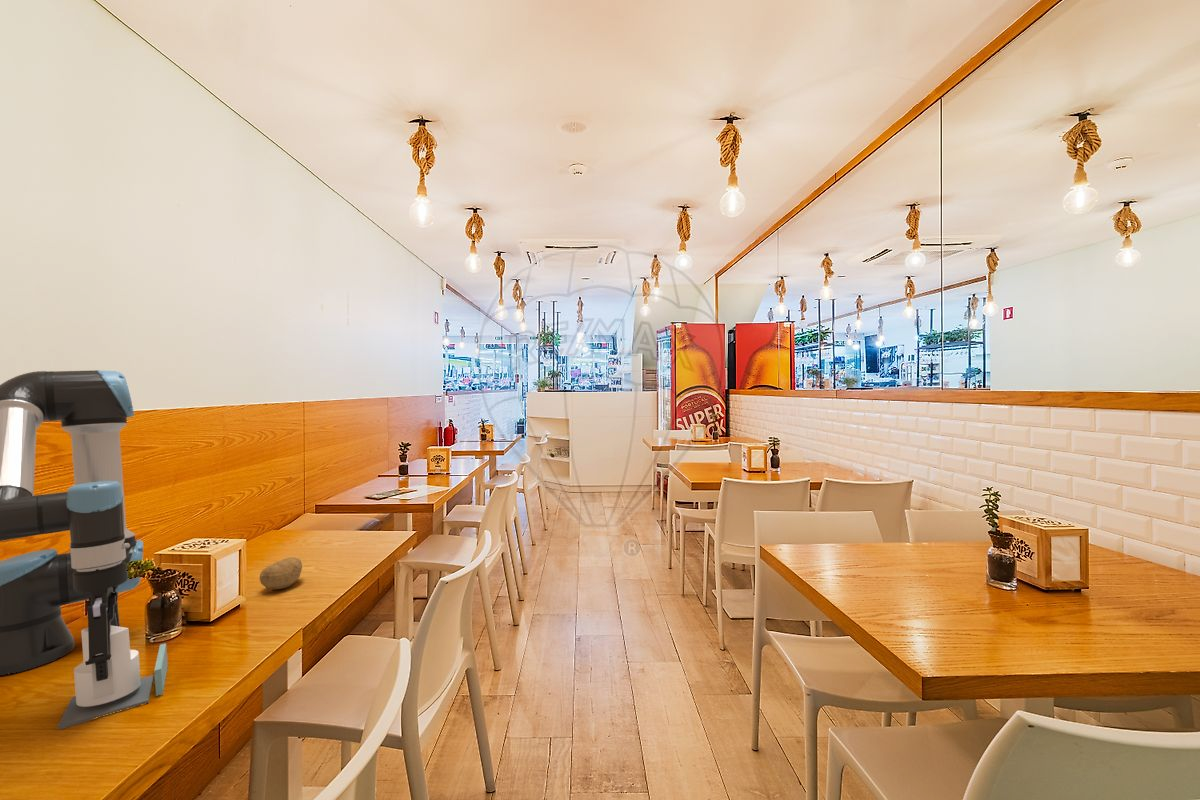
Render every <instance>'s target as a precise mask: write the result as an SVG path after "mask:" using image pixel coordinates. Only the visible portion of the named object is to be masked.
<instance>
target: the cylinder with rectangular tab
mask: <svg viewBox="0 0 1200 800" xmlns="http://www.w3.org/2000/svg"><path fill="white" fill-rule="evenodd" d="M80 632H81V644H82V657H83V658H82V659H83V660H82V662H81V663H79V664H78V665H76V666H75V667H74V669H73V676H74V679H73V680H74V692H75V696H76V704H77V705H78V706H82V707H87V706H95V705H100V704H104V703H108V702H111V701H114V700H117V699H119V698H121V697H124V696H126V695H128V694H130V693H132V692H133V691H134V690H136V689H137V688H138V687H139V686H140V684H141V679H140V678H141V668H140V653H139V650H136V649H131V645H130V644H131V642H130V631H129V627H124V626H120V627H119V626H112V625H111V634H110V654H111V657H112V660H113V674H114V688H115V693H114V694H112V695H108V696H104V697H101V698H97V699H94V692H93V678H92V664H90V665H86V664H85V661H88V659H89V638H88V627H86V628H83V629H81V630H80ZM102 654H103V653H102ZM97 655H100V654H97Z"/></svg>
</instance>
